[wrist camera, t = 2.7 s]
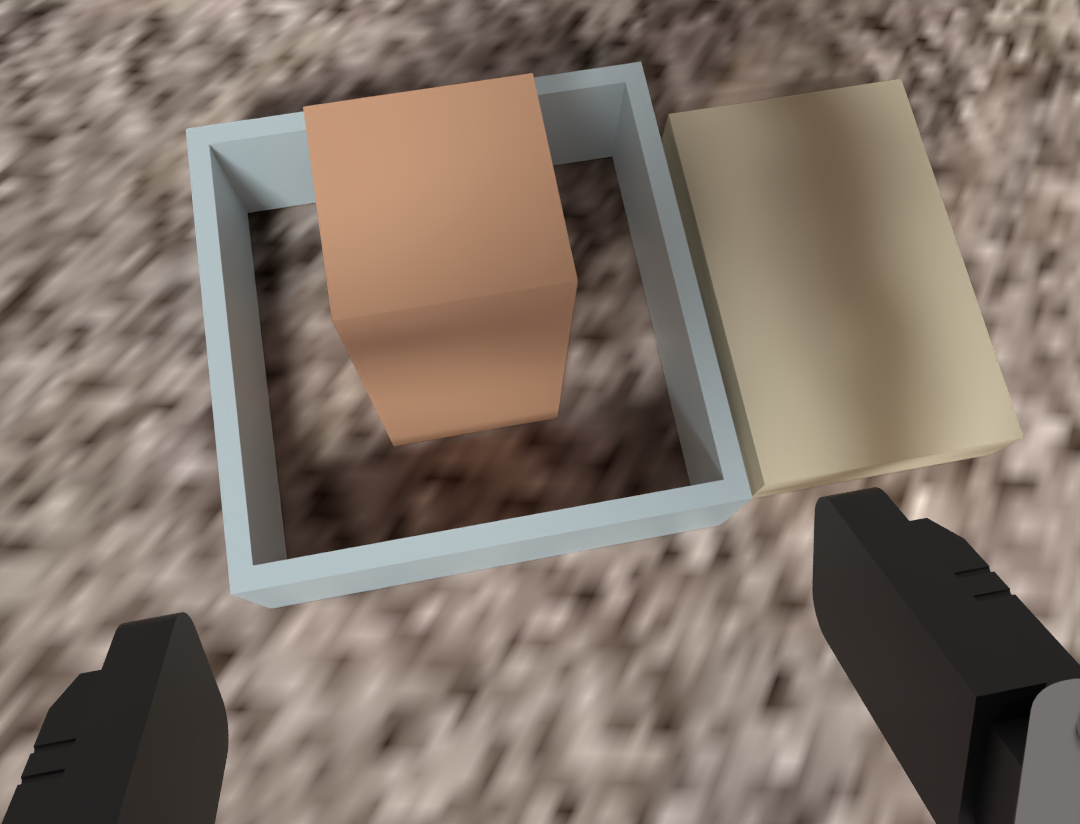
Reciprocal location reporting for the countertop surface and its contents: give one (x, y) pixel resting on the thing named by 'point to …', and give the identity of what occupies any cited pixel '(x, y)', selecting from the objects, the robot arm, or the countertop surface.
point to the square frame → (274, 581)
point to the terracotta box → (446, 254)
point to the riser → (834, 288)
